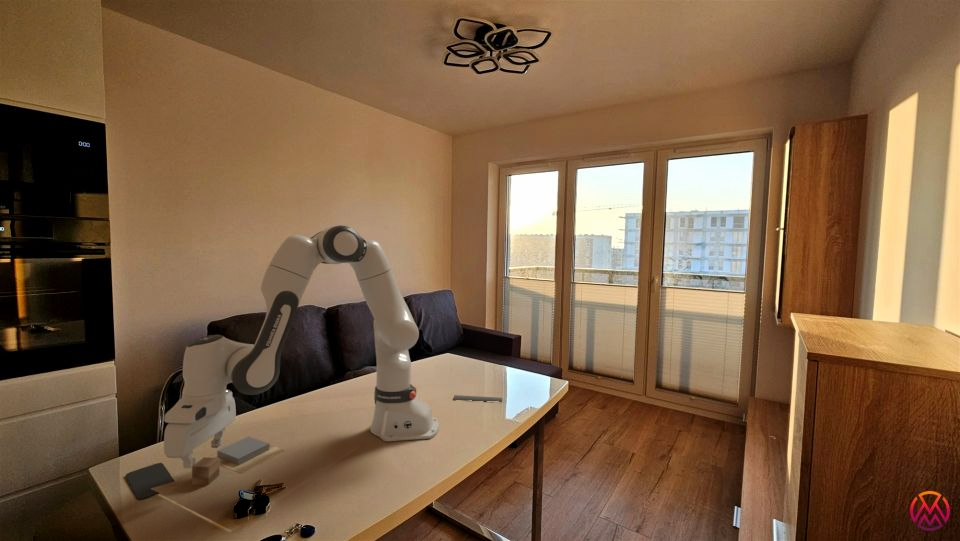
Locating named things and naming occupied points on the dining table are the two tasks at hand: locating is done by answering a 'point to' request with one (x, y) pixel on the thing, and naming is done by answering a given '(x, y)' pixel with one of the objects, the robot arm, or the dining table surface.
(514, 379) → the dining table surface
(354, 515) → the dining table surface
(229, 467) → the cork board
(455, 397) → the grey toothed bar
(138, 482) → the phone
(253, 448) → the slate tile
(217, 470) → the walnut block
